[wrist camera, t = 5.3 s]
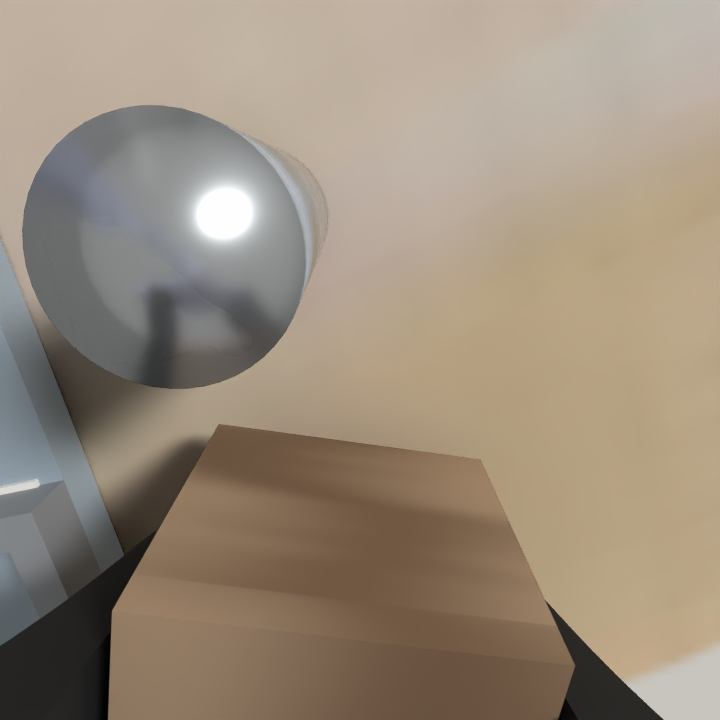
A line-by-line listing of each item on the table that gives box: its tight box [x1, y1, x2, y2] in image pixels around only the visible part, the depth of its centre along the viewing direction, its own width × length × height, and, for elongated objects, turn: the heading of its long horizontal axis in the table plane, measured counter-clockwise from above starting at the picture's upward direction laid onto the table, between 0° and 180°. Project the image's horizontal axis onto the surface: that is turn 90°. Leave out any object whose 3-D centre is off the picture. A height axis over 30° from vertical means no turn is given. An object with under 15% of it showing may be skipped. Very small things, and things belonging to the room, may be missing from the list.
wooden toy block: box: [108, 424, 575, 720], centre depth 9 cm, size 5×5×5 cm
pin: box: [22, 105, 328, 389], centre depth 8 cm, size 3×3×6 cm
